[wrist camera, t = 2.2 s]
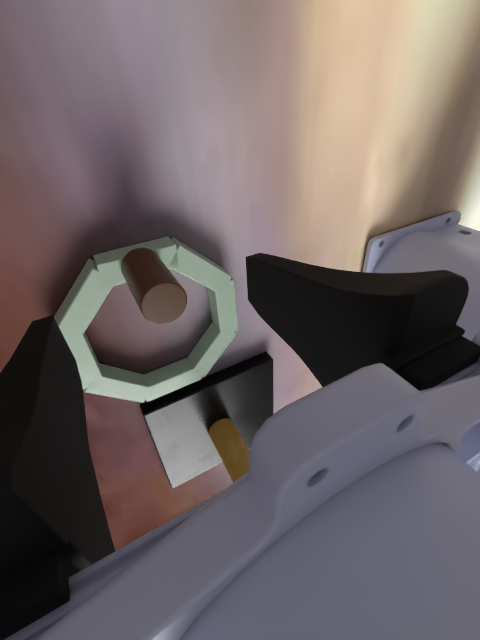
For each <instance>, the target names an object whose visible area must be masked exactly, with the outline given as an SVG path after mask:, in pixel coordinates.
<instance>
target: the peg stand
mask: <svg viewBox="0 0 480 640" xmlns="http://www.w3.org/2000/svg"><path fill="white" fill-rule="evenodd" d="M140 408H141V411H142V413H143V416H144V419H145V421H146V424H147V426H148V429H149V431H150V434H151V437H152V439H153V442H154V444H155V447H156V449H157V452H158V454H159V457H160V460H161V462H162V465H163V467H164V470H165V472H166V475H167V477H168V480H169V483H170V485H171V488H172V489H173V488H175V487H177V486H179V485H181V484H182V483H184V482H186V481H188V480H190V479H192V478H194V477H196V476H198V475H200V474H201V473H203V472H205V471H207V470H209V469H211V468H213V467H215V466H217V465H218V464H220V463H222V462H223V464H224V465H225V467H226V469H227V471H228V473H229V475H230V477H231V479H232V481H233V483H234V482H235V481H236V480H238V479H239V478H240V477H241V476H243V475H244V474H245V473H247V472H248V471H249V470H250V467H249V456H248V455H249V451H250V450H249V448H251V444H252V441H253V437H254V435H255V433H256V432H257V431H258V430H259V428H260V427H261V426H262V425H263V423H264V422H265V421H266V420H267V419H268V418H269V417H271V416H272V415H273V359H272V358H271V356H270V355H269V354H268V353H267V352H264V353H262V354H259V355H257V356H255V357H252V358H250V359H247V360H245V361H243V362H240V363H238V364H236V365H233V366H231V367H228V368H226V369H224V370H221V371H219V372H217V373H214V374H212V375H209V376H207V377H205V378H202V379H201V380H199V381H196V382H194V383H192V384H189V385H187V386H184V387H182V388H180V389H177V390H175V391H173V392H170V393H168V394H165V395H163V396H161V397H158V398H156V399H154V400H151V401H149V402H145V403H143V404H141V405H140Z"/></svg>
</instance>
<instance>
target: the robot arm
mask: <svg viewBox="0 0 480 640" xmlns="http://www.w3.org/2000/svg"><path fill="white" fill-rule="evenodd" d="M460 216H461V213H460V212H459V211H452V212H449V213H446V214H443V215H440V216H437V217H434V218H431V219H428V220H425V221H422V222H418V223H415V224H412V225H409V226H406V227H403V228H400V229H397V230H394V231H391V232H388V233H385V234H382V235H378V236H375V237H373V238H371V239H370V240H369V242H368V245H367V250H366V255H365V261H364V266H363V271H362V272H352V271H344V270H336V269H330V268H325V267H320V266H314V265H310V264H306V263H301V262H297V261H293V260H289V259H285V258H281V257H277V256H273V255H268V254H263V253H258V254H254V255H251V256H248V257H246V270H247V288H248V300H249V302H250V303H251V304H252V306H253V307H254V309H255V310H256V311H257V313H258V314H259V315H260V317H261V318H262V319H263V320H264V321H265V322H266V323H267V324H268V325H269V326H270V327H271V328H272V329H273V330H274V331H275V332H276V333H277V334H278V335H279V336H280V337H281V338H282V339H283V340H284V341H285V342H286V343H287V344H288V345H289V346H290V347H291V348H292V349H293V350H294V351H295V352H296V353H297V354H298V356H299V357H300V358H301V359H302V360H303V362H304V363H305V364H306V365H307V367H308V368H309V369H310V371H311V372H312V373H313V374H314V376H315V377H316V379H317V380H318V381H319V383H320V384H321V385H322V387H323V388H321V389H319V390H317V391H315V392H313V393H311V394H309V395H307V396H305V397H303V398H301V399H299V400H297V401H295V402H293V403H291V404H289V405H287V406H285V407H283V408H282V409H281V410H279V411H278V412H276V413H275V414H273V415H272V416H271V417H269V418H268V419H267V420H266V421H265V422H264V423H263V425H262V426H261V427H260V428H259V430H258V431H257V432H256V433H255V435H254V437H253V441H252V444H251V448H250V451H249V455H248V456H249V467H250V470H249V471H248V472H247V473H245V474H244V475H243V476H241V477H240V478H239V479H238V480H236V481H235V482H234V483H233V484H231V485H230V486H229V487H227V488H226V489H225V490H223V491H222V492H220V493H218V494H216V495H214V496H213V497H211V498H209V499H207V500H206V501H204V502H202V503H200V504H198V505H197V506H195V507H193V508H191V509H190V510H188V511H186V512H184V513H182V514H181V515H179V516H177V517H175V518H174V519H172V520H170V521H168V522H167V523H165V524H163V525H161V526H159V527H158V528H156V529H154V530H152V531H151V532H149V533H147V534H145V535H143V536H142V537H140V538H138V539H136V540H135V541H133V542H131V543H129V544H128V545H126V546H124V547H122V548H120V549H119V550H117V551H115V549H114V545H113V542H112V538H111V534H110V531H109V527H108V523H107V519H106V515H105V512H104V508H103V504H102V500H101V496H100V492H99V488H98V484H97V480H96V475H95V471H94V467H93V462H92V458H91V454H90V449H89V443H88V435H87V425H86V416H85V406H84V397H83V388H82V382H81V378H80V374H79V370H78V366H77V363H76V360H75V358H74V356H73V354H72V352H71V350H70V348H69V346H68V344H67V342H66V340H65V338H64V336H63V334H62V332H61V330H60V328H59V326H58V324H57V322H56V320H55V318H54V317H53V315H52V316H49V317H45V318H42V319H39V320H35V321H32V323H31V325H30V326H29V328H28V330H27V331H26V333H25V335H24V337H23V338H22V340H21V342H20V344H19V345H18V347H17V349H16V350H15V352H14V354H13V355H12V357H11V358H10V360H9V362H8V363H7V364H6V366H5V367H4V369H3V370H2V372H1V373H0V640H480V474H479V473H478V472H477V470H479V469H480V231H477V230H474V229H471V228H468V227H465V226H462V225H459V224H458V222H459V219H460Z"/></svg>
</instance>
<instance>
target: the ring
mask: <svg viewBox="0 0 480 640" xmlns="http://www.w3.org/2000/svg"><path fill="white" fill-rule="evenodd" d="M93 258H94V260H92V259H88V261H87V262H86V264H85V266H84V267H83V269H82V271H81V272H80V274H79V276H78V277H77V279H76V281H75V282H74V284H73V286H72V288H71V289H70V291H69V293H68V294H67V296H66V298H65V299H64V301H63V303H62V304H61V306H60V308H59V309H58V311H57V313H56V314H55V316H54V318H55V320H56V322H57V324H58V326H59V328H60V330H61V332H62V334H63V336H64V338H65V340H66V342H67V344H68V346H69V348H70V350H71V352H72V354H73V356H74V358H75V360H76V363H77V366H78V370H79V374H80V378H81V382H82V388H83V389H84V392H87V393H93V394H98V395H103V396H109V397H114V398H120V399H125V400H130V401H136V402H141V403H144V401H145V400H146V401H147V402H149V401H151V400H154V399H156V398H158V397H161V396H163V395H165V394H168V393H170V392H173V391H175V390H177V389H180V388H182V387H184V386H187V385H189V384H192V383H194V382H196V381H199V380H201V379H202V377H205V376H206V375H207V373H208V372H209V371H210V369H211V368H212V367H213V365H214V364H215V362H216V361H217V360H218V358H219V357H220V356H221V354H222V353H223V352H224V350H225V349H226V348H227V346H228V345H229V343H230V342H231V341H232V339H233V338H234V337H235V335H236V334H237V332H236V331H238V322H237V310H236V298H235V287H234V279H233V278H232V276H231V275H230V274H229V273H228V272H227V271H226V270H225V269H223V268H222V267H221V266H219V265H217V264H216V263H214V262H212V261H211V260H209V259H208V258H206V257H204V256H203V255H201V254H200V253H198V252H196V251H195V250H193V249H191V248H190V247H188V246H187V245H185V244H183V243H182V242H180V241H179V240H177V239H175V238H174V237H172V238H171V239H170V238H169V237H168V236H167V237H163V238H159V239H155V240H151V241H147V242H143V243H139V244H135V245H131V246H127V247H123V248H119V249H115V250H111V251H107V252H103V253H99V254H95V255H93ZM171 269H174V270H176V271H178V272H179V273H181V274H183V275H185V276H187V277H189V278H191V279H192V280H194V281H196V282H198V283H200V284H202V285H204V286H205V287H207V289H208V296H209V303H210V309H211V316H212V323H211V325H210V326H209V327H208V329H207V330H206V332H205V333H204V334H203V336H202V337H201V339H200V340H199V341H198V343H197V344H196V346H195V347H194V348H193V350H192V351H191V353H190V354H189V356H188V357H187V358H184V359H182V360H179V361H177V362H174V363H172V364H169V365H167V366H164V367H161V368H159V369H156V370H154V371H151V372H149V373H146V374H140V373H136V372H132V371H128V370H124V369H120V368H116V367H112V366H108V365H104V364H100V363H99V362H98V360H97V358H96V355H95V353H94V351H93V349H92V347H91V344H90V342H89V340H88V338H87V336H86V333H85V330H86V329H87V327H88V326H89V324H90V322H91V321H92V319H93V318H94V316H95V314H96V313H97V311H98V310H99V308H100V306H101V305H102V303H103V302H104V300H105V298H106V297H107V295H108V294H109V292H110V290H111V289H112V287H113V286H116V285H119V284H122V283H126V282H127V284H128V286H129V288H130V290H131V292H132V294H133V296H134V298H135V300H136V302H137V304H138V306H139V308H140V310H141V312H142V314H143V316H144V317H145V318H146V319H147V320H149V321H151V322H153V323H158V324H163V323H168V322H171V321H173V320H175V319H176V318H178V317H179V316H180V315H181V314H182V313H183V311H184V309H185V307H186V304H187V295H186V292H185V290H184V289H183V288H182V286H181V285H180V284H179V282H178V281H177V280H176V278H175V277H174V276H173V275H172V273H171V272H170V271H169V270H171ZM201 376H202V377H201Z"/></svg>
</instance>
